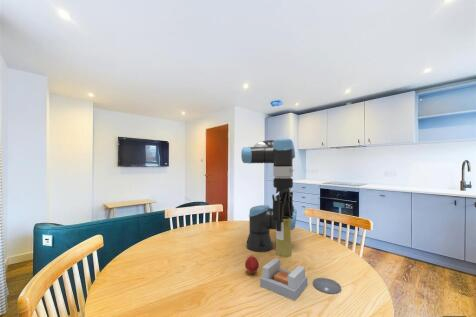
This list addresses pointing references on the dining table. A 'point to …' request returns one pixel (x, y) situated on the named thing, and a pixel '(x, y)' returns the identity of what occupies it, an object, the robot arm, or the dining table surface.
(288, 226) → the vase
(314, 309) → the dining table surface
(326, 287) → the coaster
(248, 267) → the onion
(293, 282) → the grey cradle holder
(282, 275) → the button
